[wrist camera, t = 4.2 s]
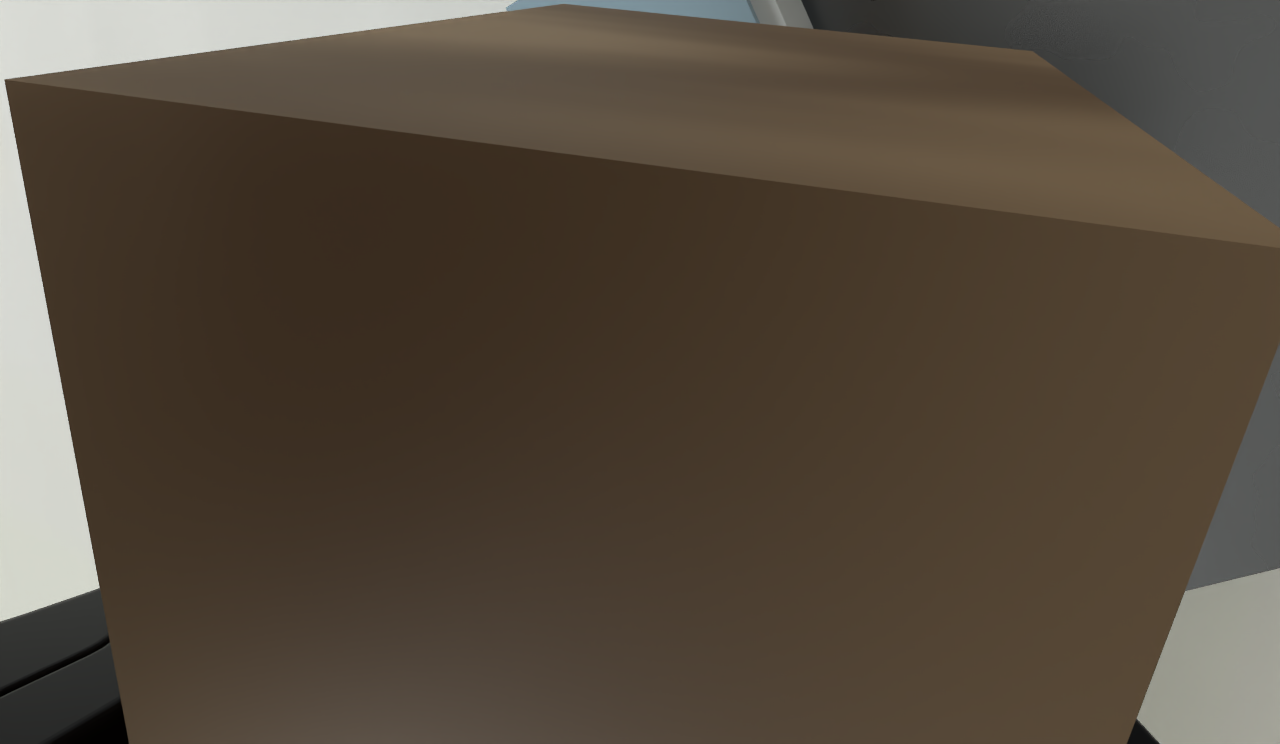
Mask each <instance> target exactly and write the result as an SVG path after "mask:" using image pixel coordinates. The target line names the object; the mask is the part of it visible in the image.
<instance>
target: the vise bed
mask: <svg viewBox="0 0 1280 744" xmlns="http://www.w3.org/2000/svg"><path fill="white" fill-rule="evenodd" d="M801 1H802V3H803V6H804V8H805V10H806V12H807V15H808V17H809V19H810V22H811V24H812V26H813V29H819V30H829V31H839V32H848V33H858V34H868V35H878V36H888V37H898V38H908V39H918V40H928V41H938V42H947V43H957V44H967V45H977V46H987V47H997V48H1007V49H1017V50H1027V51H1033V52H1034V53H1036V54H1037V55H1038V56H1040V57H1041V58H1043V59H1044V60H1045V61H1047V62H1048V63H1050V64H1051V65H1052V66H1054V67H1055V68H1057V69H1058V70H1059V71H1061V72H1062V73H1064V74H1065V75H1066V76H1068V77H1069V78H1071V79H1072V80H1073V81H1075V82H1076V83H1078V84H1079V85H1080V86H1082V87H1083V88H1085V89H1086V90H1087V91H1089V92H1090V93H1092V94H1093V95H1094V96H1096V97H1097V98H1099V99H1100V100H1101V101H1103V102H1104V103H1106V104H1107V105H1108V106H1110V107H1111V108H1113V109H1114V110H1115V111H1117V112H1118V113H1120V114H1121V115H1122V116H1124V117H1125V118H1127V119H1128V120H1129V121H1131V122H1132V123H1134V124H1135V125H1136V126H1138V127H1139V128H1141V129H1142V130H1143V131H1145V132H1146V133H1148V134H1149V135H1150V136H1152V137H1153V138H1155V139H1156V140H1157V141H1159V142H1160V143H1162V144H1163V145H1164V146H1166V147H1167V148H1169V149H1170V150H1171V151H1173V152H1174V153H1175V154H1177V155H1178V156H1180V157H1181V158H1182V159H1184V160H1185V161H1187V162H1188V163H1189V164H1191V165H1192V166H1194V167H1195V168H1196V169H1198V170H1199V171H1201V172H1202V173H1203V174H1205V175H1206V176H1208V177H1209V178H1210V179H1212V180H1213V181H1215V182H1216V183H1217V184H1219V185H1220V186H1222V187H1223V188H1224V189H1226V190H1227V191H1229V192H1230V193H1231V194H1233V195H1234V196H1236V197H1237V198H1238V199H1240V200H1241V201H1243V202H1244V203H1245V204H1247V205H1248V206H1250V207H1251V208H1252V209H1254V210H1255V211H1257V212H1258V213H1259V214H1261V215H1262V216H1264V217H1265V218H1266V219H1268V220H1269V221H1271V222H1272V223H1273V224H1275V225H1276V226H1278V227H1279V228H1280V0H801ZM1277 568H1280V343H1279V345H1278V348H1277V351H1276V353H1275V356H1274V358H1273V361H1272V364H1271V366H1270V369H1269V372H1268V374H1267V377H1266V379H1265V382H1264V385H1263V387H1262V390H1261V393H1260V395H1259V398H1258V400H1257V403H1256V406H1255V408H1254V411H1253V414H1252V416H1251V419H1250V421H1249V424H1248V427H1247V429H1246V432H1245V435H1244V437H1243V440H1242V442H1241V445H1240V448H1239V450H1238V453H1237V456H1236V458H1235V461H1234V463H1233V466H1232V469H1231V471H1230V474H1229V477H1228V479H1227V482H1226V484H1225V487H1224V490H1223V492H1222V495H1221V498H1220V500H1219V503H1218V505H1217V508H1216V511H1215V513H1214V516H1213V519H1212V521H1211V524H1210V526H1209V529H1208V532H1207V534H1206V537H1205V540H1204V542H1203V545H1202V547H1201V550H1200V553H1199V555H1198V558H1197V561H1196V563H1195V566H1194V568H1193V571H1192V574H1191V576H1190V579H1189V582H1188V584H1187V587H1186V589H1185V591H1187V590H1191V589H1196V588H1200V587H1204V586H1208V585H1212V584H1216V583H1220V582H1224V581H1228V580H1232V579H1236V578H1240V577H1245V576H1249V575H1253V574H1257V573H1261V572H1265V571H1269V570H1273V569H1277Z"/></svg>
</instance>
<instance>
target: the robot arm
mask: <svg viewBox="0 0 1280 744" xmlns="http://www.w3.org/2000/svg"><path fill="white" fill-rule="evenodd" d="M0 744H129V740H128V735H127V730H126V724H125V719H124V714H123V708H122V703H121V698H120V693H119V687H118V682H117V677H116V671H115V666H114V661H113V655H112V650H111V645H110V639H109V634H108V629H107V623H106V618H105V613H104V607H103V602H102V597H101V591H100V588H98V589H96V590H93V591H90V592H87V593H85V594H82V595H79V596H76V597H73V598H70V599H67V600H64V601H61V602H58V603H55V604H52V605H50V606H47V607H44V608H41V609H38V610H35V611H32V612H29V613H26V614H23V615H20V616H17V617H14V618H11V619H7V620H4V621H1V622H0ZM1127 744H1160V743H1159V742H1158V741H1157V740H1156V739H1155V738H1154V737H1153V736H1152V735H1151V734H1150V733H1149V732H1148V731H1147V729H1146V728H1145V727H1144V726H1143V725H1142V724H1141V723H1140V722H1139V721H1138V720H1137V719H1136V721H1135V723H1134V726H1133V729H1132V731H1131V734H1130V736H1129V739H1128V742H1127Z"/></svg>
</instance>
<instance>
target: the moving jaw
mask: <svg viewBox="0 0 1280 744" xmlns="http://www.w3.org/2000/svg"><path fill="white" fill-rule="evenodd" d="M558 4H571V5H581V6H591V7H601V8H611V9H621V10H631V11H640V12H650V13H660V14H670V15H680V16H690V17H700V18H710V19H720V20H730V21H739V22H749V23H759V24H769V25H779V26H789V27H799V28H809V29H813V26H812V24H811V22H810V19H809V17H808V15H807V12H806V10H805V8H804V6H803V3H802V1H801V0H518V1H516V2H514V3H513V4H511V5H509V6H508V7H506V9H507V11H514V10H521V9H528V8H536V7H543V6H550V5H558Z"/></svg>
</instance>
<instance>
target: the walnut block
mask: <svg viewBox="0 0 1280 744" xmlns="http://www.w3.org/2000/svg"><path fill="white" fill-rule="evenodd" d="M5 85H6V90H7V96H8V101H9V106H10V112H11V117H12V122H13V128H14V133H15V138H16V144H17V149H18V154H19V160H20V165H21V170H22V176H23V181H24V186H25V192H26V197H27V202H28V208H29V213H30V218H31V224H32V229H33V234H34V240H35V245H36V250H37V256H38V261H39V266H40V272H41V277H42V282H43V287H44V293H45V298H46V303H47V309H48V314H49V319H50V325H51V330H52V335H53V341H54V346H55V351H56V357H57V362H58V367H59V373H60V378H61V383H62V389H63V394H64V399H65V405H66V410H67V415H68V421H69V426H70V431H71V437H72V442H73V447H74V453H75V458H76V463H77V469H78V474H79V479H80V485H81V490H82V495H83V501H84V506H85V511H86V517H87V522H88V527H89V533H90V538H91V543H92V549H93V554H94V559H95V565H96V570H97V575H98V581H99V586H100V591H101V597H102V602H103V607H104V613H105V618H106V623H107V629H108V634H109V639H110V645H111V650H112V655H113V661H114V666H115V671H116V677H117V682H118V687H119V693H120V698H121V703H122V708H123V714H124V719H125V724H126V730H127V735H128V740H129V744H1127V742H1128V739H1129V736H1130V734H1131V731H1132V729H1133V726H1134V723H1135V721H1136V718H1137V715H1138V713H1139V710H1140V708H1141V705H1142V702H1143V700H1144V697H1145V694H1146V692H1147V689H1148V687H1149V684H1150V681H1151V679H1152V676H1153V673H1154V671H1155V668H1156V666H1157V663H1158V660H1159V658H1160V655H1161V652H1162V650H1163V647H1164V645H1165V642H1166V639H1167V637H1168V634H1169V631H1170V629H1171V626H1172V624H1173V621H1174V618H1175V616H1176V613H1177V610H1178V608H1179V605H1180V603H1181V600H1182V597H1183V595H1184V592H1185V589H1186V587H1187V584H1188V582H1189V579H1190V576H1191V574H1192V571H1193V568H1194V566H1195V563H1196V561H1197V558H1198V555H1199V553H1200V550H1201V547H1202V545H1203V542H1204V540H1205V537H1206V534H1207V532H1208V529H1209V526H1210V524H1211V521H1212V519H1213V516H1214V513H1215V511H1216V508H1217V505H1218V503H1219V500H1220V498H1221V495H1222V492H1223V490H1224V487H1225V484H1226V482H1227V479H1228V477H1229V474H1230V471H1231V469H1232V466H1233V463H1234V461H1235V458H1236V456H1237V453H1238V450H1239V448H1240V445H1241V442H1242V440H1243V437H1244V435H1245V432H1246V429H1247V427H1248V424H1249V421H1250V419H1251V416H1252V414H1253V411H1254V408H1255V406H1256V403H1257V400H1258V398H1259V395H1260V393H1261V390H1262V387H1263V385H1264V382H1265V379H1266V377H1267V374H1268V372H1269V369H1270V366H1271V364H1272V361H1273V358H1274V356H1275V353H1276V351H1277V348H1278V345H1279V343H1280V228H1279V227H1278V226H1276V225H1275V224H1273V223H1272V222H1271V221H1269V220H1268V219H1266V218H1265V217H1264V216H1262V215H1261V214H1259V213H1258V212H1257V211H1255V210H1254V209H1252V208H1251V207H1250V206H1248V205H1247V204H1245V203H1244V202H1243V201H1241V200H1240V199H1238V198H1237V197H1236V196H1234V195H1233V194H1231V193H1230V192H1229V191H1227V190H1226V189H1224V188H1223V187H1222V186H1220V185H1219V184H1217V183H1216V182H1215V181H1213V180H1212V179H1210V178H1209V177H1208V176H1206V175H1205V174H1203V173H1202V172H1201V171H1199V170H1198V169H1196V168H1195V167H1194V166H1192V165H1191V164H1189V163H1188V162H1187V161H1185V160H1184V159H1182V158H1181V157H1180V156H1178V155H1177V154H1175V153H1174V152H1173V151H1171V150H1170V149H1169V148H1167V147H1166V146H1164V145H1163V144H1162V143H1160V142H1159V141H1157V140H1156V139H1155V138H1153V137H1152V136H1150V135H1149V134H1148V133H1146V132H1145V131H1143V130H1142V129H1141V128H1139V127H1138V126H1136V125H1135V124H1134V123H1132V122H1131V121H1129V120H1128V119H1127V118H1125V117H1124V116H1122V115H1121V114H1120V113H1118V112H1117V111H1115V110H1114V109H1113V108H1111V107H1110V106H1108V105H1107V104H1106V103H1104V102H1103V101H1101V100H1100V99H1099V98H1097V97H1096V96H1094V95H1093V94H1092V93H1090V92H1089V91H1087V90H1086V89H1085V88H1083V87H1082V86H1080V85H1079V84H1078V83H1076V82H1075V81H1073V80H1072V79H1071V78H1069V77H1068V76H1066V75H1065V74H1064V73H1062V72H1061V71H1059V70H1058V69H1057V68H1055V67H1054V66H1052V65H1051V64H1050V63H1048V62H1047V61H1045V60H1044V59H1043V58H1041V57H1040V56H1038V55H1037V54H1036V53H1034V52H1033V51H1027V50H1017V49H1007V48H997V47H987V46H977V45H967V44H957V43H947V42H938V41H928V40H918V39H908V38H898V37H888V36H878V35H868V34H858V33H848V32H839V31H829V30H819V29H809V28H799V27H789V26H779V25H769V24H759V23H749V22H739V21H730V20H720V19H710V18H700V17H690V16H680V15H670V14H660V13H650V12H640V11H631V10H621V9H611V8H601V7H591V6H581V5H571V4H558V5H550V6H543V7H536V8H528V9H521V10H514V11H506V12H499V13H491V14H484V15H477V16H469V17H462V18H455V19H447V20H440V21H432V22H425V23H418V24H410V25H403V26H396V27H388V28H381V29H374V30H366V31H359V32H351V33H344V34H337V35H329V36H322V37H315V38H307V39H300V40H293V41H285V42H278V43H270V44H263V45H256V46H248V47H241V48H234V49H226V50H219V51H211V52H204V53H197V54H189V55H182V56H175V57H167V58H160V59H153V60H145V61H138V62H130V63H123V64H116V65H108V66H101V67H94V68H86V69H79V70H72V71H64V72H57V73H49V74H42V75H35V76H27V77H20V78H13V79H5Z"/></svg>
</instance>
